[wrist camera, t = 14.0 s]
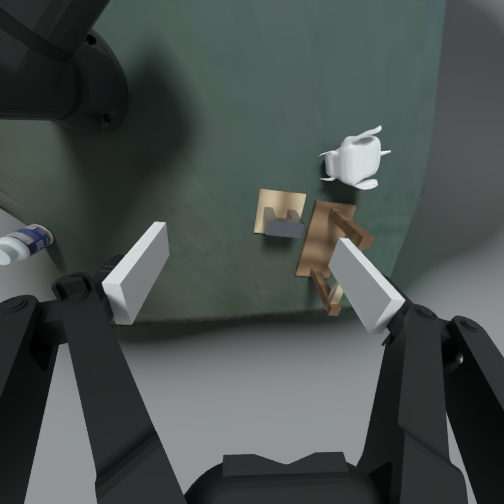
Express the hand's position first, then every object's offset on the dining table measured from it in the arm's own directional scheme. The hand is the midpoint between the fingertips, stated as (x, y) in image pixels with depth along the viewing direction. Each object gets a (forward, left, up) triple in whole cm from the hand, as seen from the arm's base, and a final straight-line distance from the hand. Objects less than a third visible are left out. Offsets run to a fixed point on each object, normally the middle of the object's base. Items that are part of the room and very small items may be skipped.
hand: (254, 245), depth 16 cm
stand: (+20, -14, -30) cm, 39 cm away
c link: (+8, -8, -30) cm, 32 cm away
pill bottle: (-46, -19, -31) cm, 59 cm away
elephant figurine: (+19, +5, -31) cm, 36 cm away
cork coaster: (+8, -8, -30) cm, 32 cm away
